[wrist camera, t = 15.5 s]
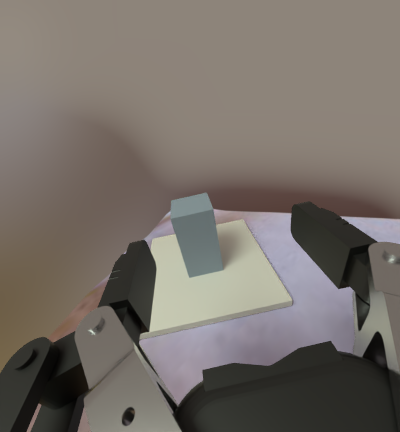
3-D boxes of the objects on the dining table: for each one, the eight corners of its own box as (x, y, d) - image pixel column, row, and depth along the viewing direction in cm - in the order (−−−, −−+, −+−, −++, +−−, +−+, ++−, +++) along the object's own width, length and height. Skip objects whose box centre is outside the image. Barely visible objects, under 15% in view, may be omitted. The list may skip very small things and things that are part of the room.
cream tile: (242, 223, 37) (242, 219, 36) (292, 305, 21) (292, 300, 21) (154, 243, 37) (152, 239, 36) (138, 340, 21) (135, 335, 21)
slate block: (216, 247, 31) (206, 192, 26) (223, 270, 26) (213, 209, 21) (187, 254, 31) (171, 200, 26) (189, 278, 26) (170, 218, 21)
